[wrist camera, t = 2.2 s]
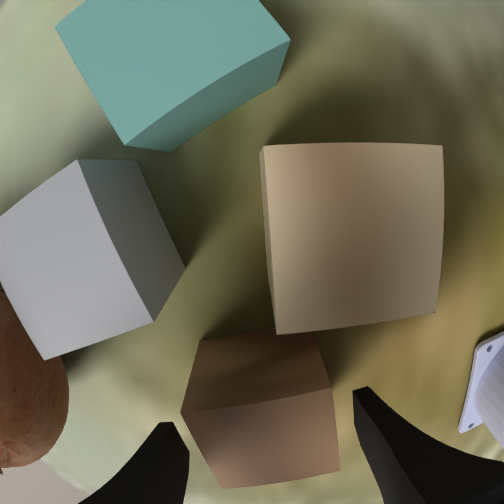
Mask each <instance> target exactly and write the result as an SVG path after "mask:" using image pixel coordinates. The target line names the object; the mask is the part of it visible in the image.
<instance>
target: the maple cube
mask: <svg viewBox="0 0 504 504" xmlns="http://www.w3.org/2000/svg"><path fill="white" fill-rule="evenodd" d="M259 167H260V179H261V191H262V204H263V217H264V230H265V243H266V257H267V270H268V280H269V287H270V293H271V300H272V306H273V313H274V319H275V326H276V332H277V335H280V334H291V333H301V332H310V331H319V330H328V329H336V328H344V327H352V326H359V325H366V324H373V323H380V322H386V321H392V320H398V319H404V318H410V317H416V316H421V315H427V314H432V313H436V306H437V299H438V291H439V283H440V273H441V262H442V249H443V230H444V165H443V147H442V145H426V144H406V143H307V144H286V145H269V146H263V148H262V149H261V151H260V153H259Z"/></svg>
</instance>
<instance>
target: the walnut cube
mask: <svg viewBox="0 0 504 504" xmlns="http://www.w3.org/2000/svg"><path fill="white" fill-rule="evenodd" d="M180 413H181V415H182V417H183V419H184V421H185V423H186V425H187V427H188V429H189V431H190V433H191V435H192V436H193V438H194V440H195V442H196V444H197V446H198V448H199V450H200V451H201V453H202V455H203V457H204V459H205V460H206V462H207V464H208V466H209V467H210V469H211V471H212V473H213V474H214V476H215V478H216V479H217V481H218V483H219V484H220V486H221V488H222V489H226V488H239V487H249V486H258V485H266V484H273V483H280V482H286V481H292V480H298V479H303V478H309V477H314V476H318V475H323V474H327V473H332V472H336V471H340V463H339V451H338V440H337V430H336V420H335V411H334V402H333V393H332V386H331V383H330V381H329V378H328V375H327V372H326V369H325V366H324V363H323V360H322V357H321V354H320V352H319V349H318V346H317V343H316V340H315V337H314V335H313V332H312V331H310V332H301V333H291V334H280V335H277V332H276V326H275V327H270V328H265V329H261V330H256V331H251V332H245V333H240V334H235V335H230V336H224V337H219V338H213V339H207V340H201V341H200V342H199V346H198V349H197V353H196V356H195V360H194V364H193V367H192V371H191V375H190V378H189V382H188V386H187V389H186V393H185V397H184V401H183V404H182V408H181V412H180Z"/></svg>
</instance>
